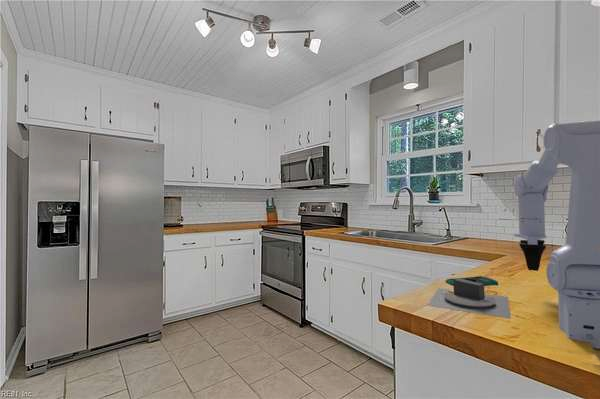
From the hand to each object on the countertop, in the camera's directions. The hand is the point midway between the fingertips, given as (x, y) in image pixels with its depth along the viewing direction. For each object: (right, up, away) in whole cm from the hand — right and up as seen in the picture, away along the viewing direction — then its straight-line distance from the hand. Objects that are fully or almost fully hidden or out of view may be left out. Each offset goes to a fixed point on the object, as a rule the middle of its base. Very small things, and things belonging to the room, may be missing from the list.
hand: (533, 267), depth 83 cm
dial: (-19, -9, -2) cm, 21 cm away
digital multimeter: (-8, -10, +15) cm, 20 cm away
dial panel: (-19, -10, -2) cm, 21 cm away
